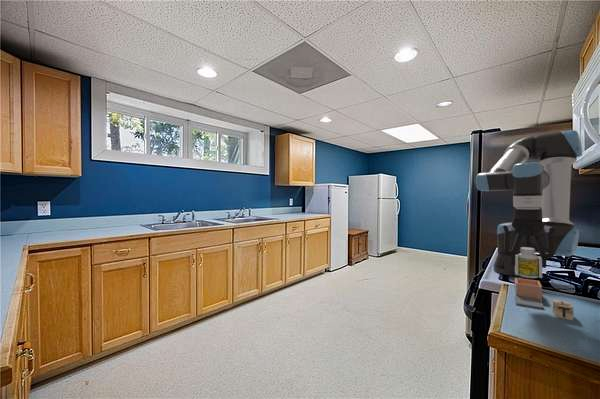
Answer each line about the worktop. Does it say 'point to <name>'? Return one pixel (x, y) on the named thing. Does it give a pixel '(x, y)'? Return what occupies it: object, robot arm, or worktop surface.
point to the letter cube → (563, 309)
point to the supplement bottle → (528, 263)
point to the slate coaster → (529, 302)
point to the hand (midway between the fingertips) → (528, 275)
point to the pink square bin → (528, 288)
